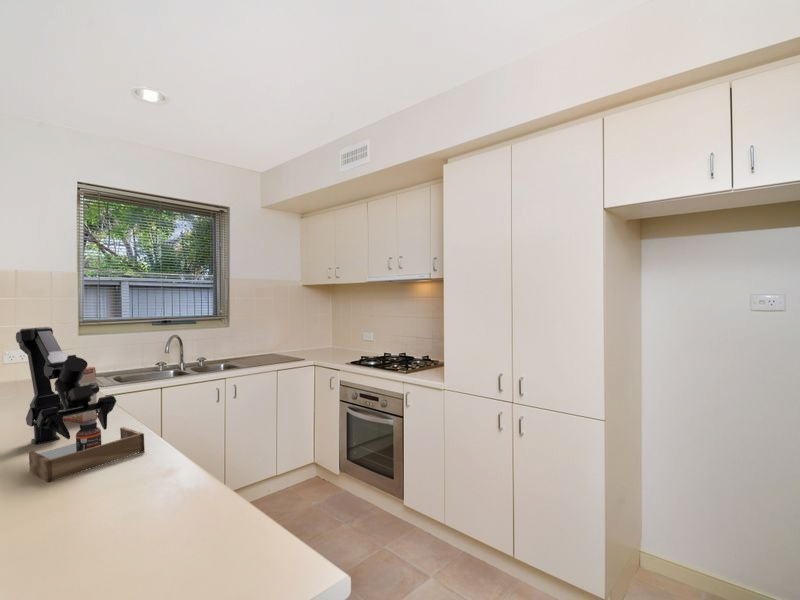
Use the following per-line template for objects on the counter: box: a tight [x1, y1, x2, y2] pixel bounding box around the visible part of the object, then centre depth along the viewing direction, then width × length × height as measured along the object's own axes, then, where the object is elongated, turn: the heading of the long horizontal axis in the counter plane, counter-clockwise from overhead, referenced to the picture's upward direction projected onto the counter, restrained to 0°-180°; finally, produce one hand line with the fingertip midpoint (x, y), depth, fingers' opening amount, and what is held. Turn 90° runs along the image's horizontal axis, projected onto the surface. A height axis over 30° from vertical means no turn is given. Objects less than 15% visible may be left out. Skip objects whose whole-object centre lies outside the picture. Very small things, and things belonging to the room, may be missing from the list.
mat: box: [37, 442, 76, 459], centre depth 129 cm, size 14×14×1 cm
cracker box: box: [63, 366, 98, 424], centre depth 164 cm, size 14×6×21 cm, turn 65°
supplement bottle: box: [75, 420, 102, 452], centre depth 122 cm, size 6×6×11 cm
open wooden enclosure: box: [28, 426, 145, 483], centre depth 122 cm, size 13×24×6 cm, turn 148°
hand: (88, 433), depth 122 cm, fingers open, 9 cm apart
